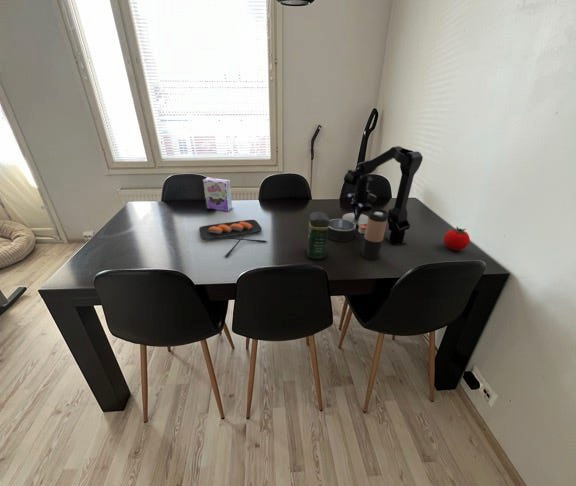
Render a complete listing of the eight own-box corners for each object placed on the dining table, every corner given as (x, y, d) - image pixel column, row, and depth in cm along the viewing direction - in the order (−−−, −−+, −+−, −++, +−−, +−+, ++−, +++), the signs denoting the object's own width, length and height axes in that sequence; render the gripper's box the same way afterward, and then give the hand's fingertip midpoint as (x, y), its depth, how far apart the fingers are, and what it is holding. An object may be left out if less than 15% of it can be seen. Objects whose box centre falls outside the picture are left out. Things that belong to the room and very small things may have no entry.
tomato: (468, 249, 135) (477, 229, 129) (460, 257, 129) (468, 236, 123) (445, 241, 141) (453, 221, 135) (436, 248, 135) (443, 228, 129)
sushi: (370, 229, 149) (371, 224, 147) (373, 232, 146) (374, 227, 144) (357, 230, 148) (358, 224, 146) (360, 233, 145) (361, 228, 143)
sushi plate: (255, 222, 153) (255, 215, 151) (273, 249, 130) (273, 241, 128) (198, 229, 144) (197, 222, 142) (207, 260, 121) (206, 252, 119)
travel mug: (365, 249, 132) (374, 207, 121) (381, 255, 128) (392, 212, 117) (357, 255, 127) (365, 212, 116) (373, 262, 123) (383, 217, 112)
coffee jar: (326, 260, 124) (331, 219, 113) (308, 260, 123) (311, 219, 113) (323, 248, 132) (327, 209, 121) (306, 248, 131) (308, 209, 121)
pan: (358, 240, 139) (360, 229, 136) (331, 242, 137) (332, 232, 134) (347, 227, 150) (349, 217, 147) (322, 229, 148) (323, 219, 145)
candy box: (206, 208, 167) (201, 179, 157) (211, 205, 171) (207, 176, 162) (228, 212, 163) (225, 182, 154) (232, 208, 168) (230, 179, 159)
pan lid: (375, 225, 151) (377, 215, 148) (348, 227, 149) (349, 216, 146) (363, 214, 163) (364, 204, 160) (338, 215, 161) (339, 205, 157)
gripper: (385, 193, 140) (378, 223, 149) (368, 182, 155) (363, 209, 164) (363, 194, 138) (358, 225, 147) (348, 182, 153) (344, 210, 162)
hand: (356, 217), depth 155 cm, fingers closed on pan lid, 2 cm apart
